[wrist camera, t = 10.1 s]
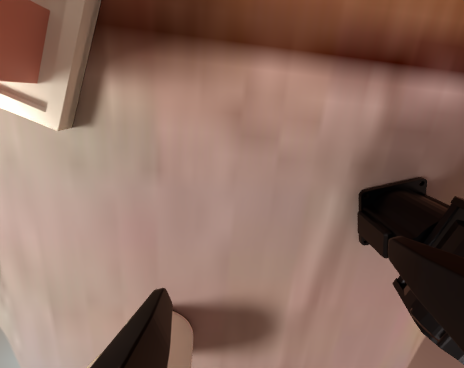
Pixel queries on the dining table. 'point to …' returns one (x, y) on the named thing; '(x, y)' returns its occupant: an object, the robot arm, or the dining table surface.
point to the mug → (178, 343)
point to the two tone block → (21, 40)
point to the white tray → (56, 66)
